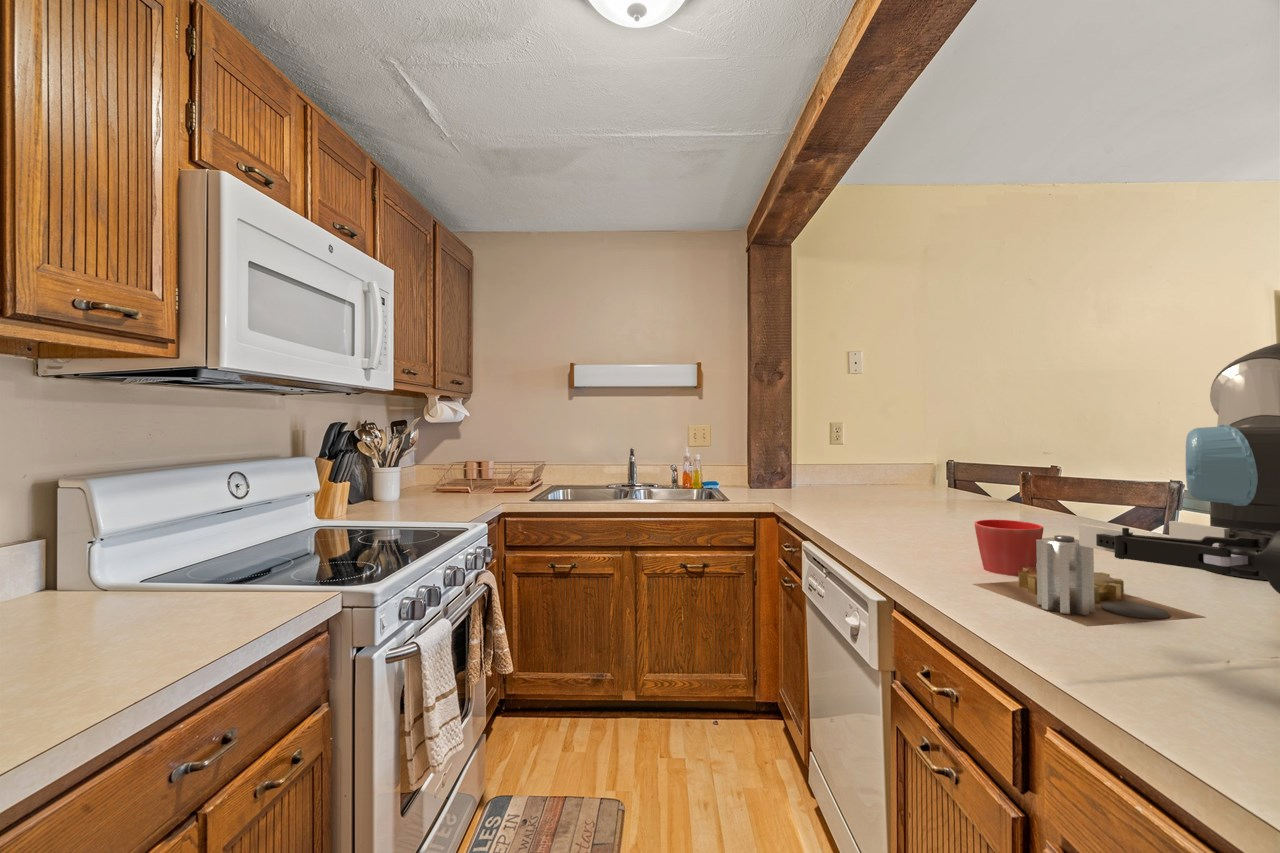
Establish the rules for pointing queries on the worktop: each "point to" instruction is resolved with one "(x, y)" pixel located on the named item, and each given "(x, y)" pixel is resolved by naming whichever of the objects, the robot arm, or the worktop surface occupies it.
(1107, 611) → the gear board
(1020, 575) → the brass gear
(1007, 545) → the flower pot
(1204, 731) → the worktop surface
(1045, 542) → the grey pinion
